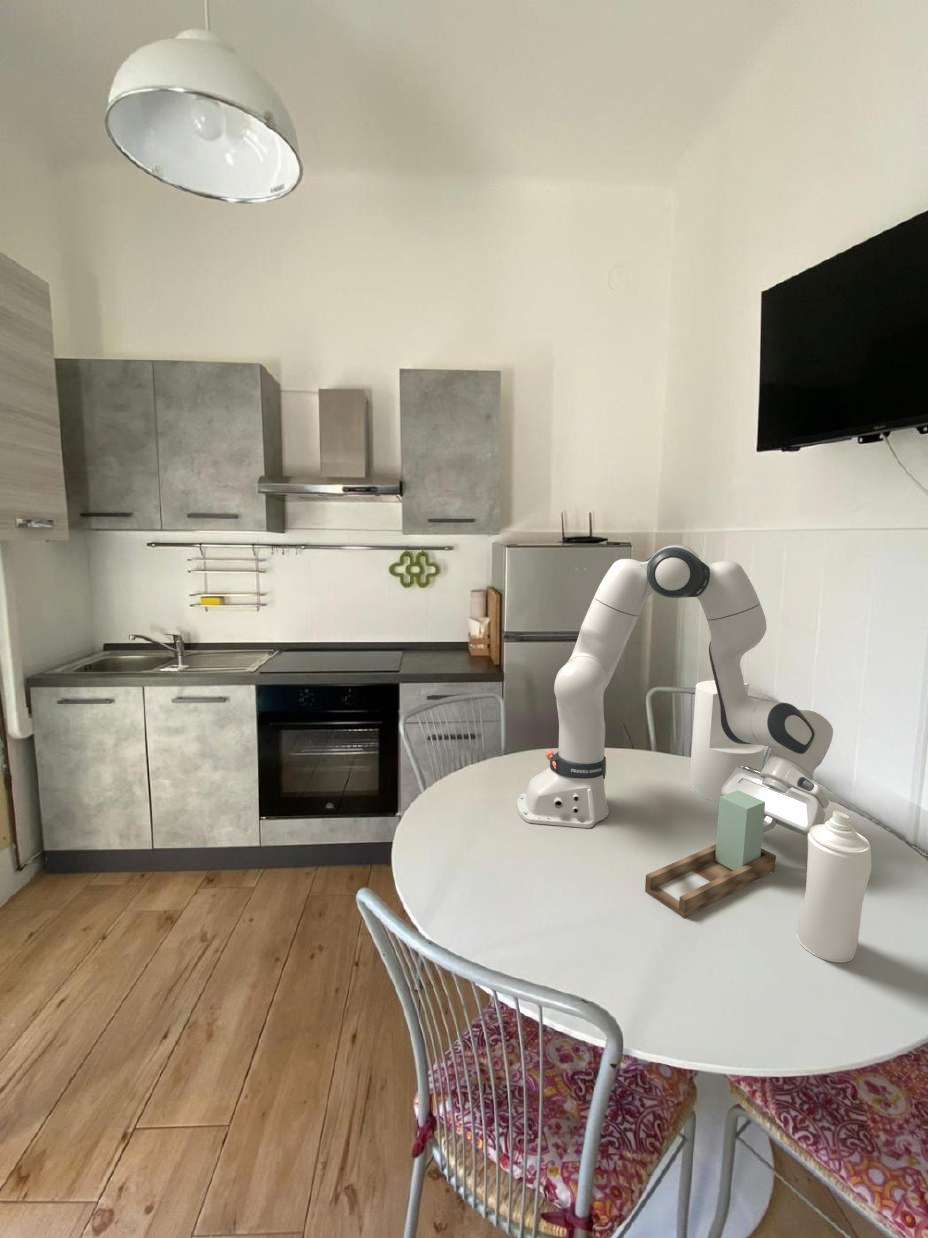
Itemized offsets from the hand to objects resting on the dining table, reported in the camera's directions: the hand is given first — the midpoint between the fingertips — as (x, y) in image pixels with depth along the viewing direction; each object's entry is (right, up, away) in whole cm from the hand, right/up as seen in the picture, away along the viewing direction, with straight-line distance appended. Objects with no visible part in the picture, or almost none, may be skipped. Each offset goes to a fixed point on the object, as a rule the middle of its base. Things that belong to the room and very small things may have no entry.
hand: (752, 834), depth 121 cm
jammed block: (-4, -5, -2) cm, 7 cm away
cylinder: (+9, -1, +34) cm, 36 cm away
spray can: (0, -10, -24) cm, 26 cm away
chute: (-11, -7, -6) cm, 14 cm away
